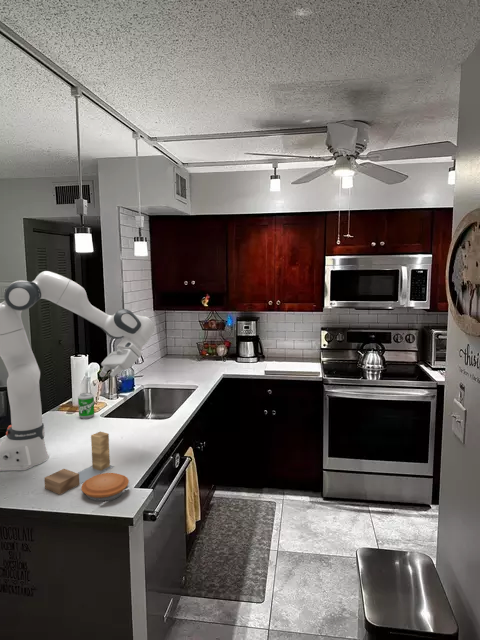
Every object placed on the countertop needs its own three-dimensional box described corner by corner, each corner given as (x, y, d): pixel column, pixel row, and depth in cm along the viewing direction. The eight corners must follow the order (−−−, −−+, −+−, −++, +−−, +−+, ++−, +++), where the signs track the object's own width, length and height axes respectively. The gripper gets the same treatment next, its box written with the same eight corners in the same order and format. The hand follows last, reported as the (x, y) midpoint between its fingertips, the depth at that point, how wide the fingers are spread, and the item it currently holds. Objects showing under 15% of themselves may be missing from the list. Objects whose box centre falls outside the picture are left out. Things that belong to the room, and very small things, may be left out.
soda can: (76, 416, 230) (75, 394, 229) (90, 413, 235) (89, 391, 234) (82, 420, 224) (81, 397, 223) (96, 417, 229) (95, 394, 228)
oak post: (100, 470, 168) (99, 437, 166) (92, 468, 170) (91, 435, 169) (109, 466, 172) (108, 433, 170) (101, 463, 174) (100, 431, 172)
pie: (72, 503, 147) (71, 489, 146) (95, 481, 162) (94, 468, 161) (117, 507, 144) (116, 493, 144) (135, 484, 159) (135, 471, 159)
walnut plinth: (60, 494, 151) (59, 483, 150) (44, 488, 155) (44, 477, 154) (79, 484, 157) (78, 473, 157) (64, 479, 161) (63, 468, 161)
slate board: (61, 496, 151) (61, 493, 151) (46, 490, 155) (46, 487, 155) (114, 468, 172) (114, 466, 171) (100, 463, 176) (100, 461, 176)
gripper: (110, 345, 190) (89, 370, 183) (134, 343, 175) (112, 370, 168) (121, 355, 193) (100, 380, 186) (144, 354, 178) (123, 381, 171)
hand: (106, 376), depth 177 cm, fingers open, 8 cm apart
